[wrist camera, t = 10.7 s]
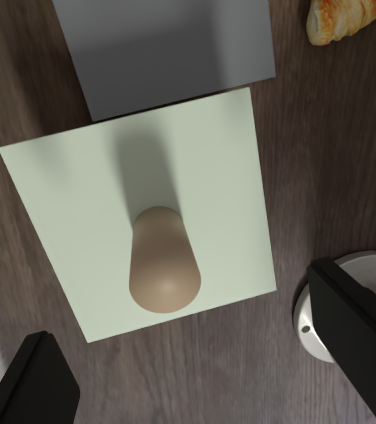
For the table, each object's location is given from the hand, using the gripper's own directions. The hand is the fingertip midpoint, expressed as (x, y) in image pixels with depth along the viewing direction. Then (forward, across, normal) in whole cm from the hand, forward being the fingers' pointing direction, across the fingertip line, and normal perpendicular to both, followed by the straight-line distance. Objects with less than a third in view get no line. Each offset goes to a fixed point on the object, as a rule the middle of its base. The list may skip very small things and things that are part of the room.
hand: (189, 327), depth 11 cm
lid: (+9, +1, -1) cm, 9 cm away
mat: (+13, -3, -14) cm, 20 cm away
